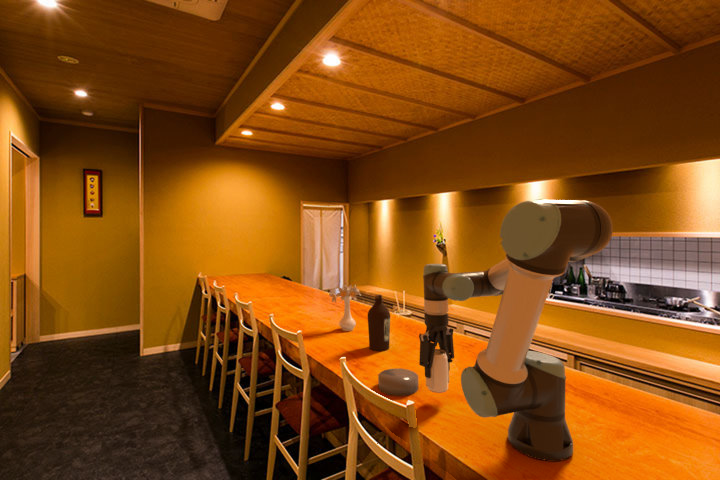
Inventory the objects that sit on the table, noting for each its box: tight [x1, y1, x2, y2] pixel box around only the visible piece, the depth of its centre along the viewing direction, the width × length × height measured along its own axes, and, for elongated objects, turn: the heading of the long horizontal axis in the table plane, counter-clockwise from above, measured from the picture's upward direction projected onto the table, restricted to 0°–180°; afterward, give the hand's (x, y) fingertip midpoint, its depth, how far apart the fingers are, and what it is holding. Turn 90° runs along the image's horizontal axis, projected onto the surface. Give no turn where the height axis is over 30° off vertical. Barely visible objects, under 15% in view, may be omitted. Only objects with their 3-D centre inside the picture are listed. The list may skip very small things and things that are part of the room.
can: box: [427, 348, 449, 394], centre depth 120 cm, size 6×6×12 cm
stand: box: [377, 368, 419, 397], centre depth 132 cm, size 14×14×4 cm
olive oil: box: [367, 294, 391, 352], centre depth 175 cm, size 11×11×25 cm
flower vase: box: [329, 284, 362, 332], centre depth 207 cm, size 13×18×25 cm
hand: (437, 384), depth 120 cm, fingers closed on can, 6 cm apart
